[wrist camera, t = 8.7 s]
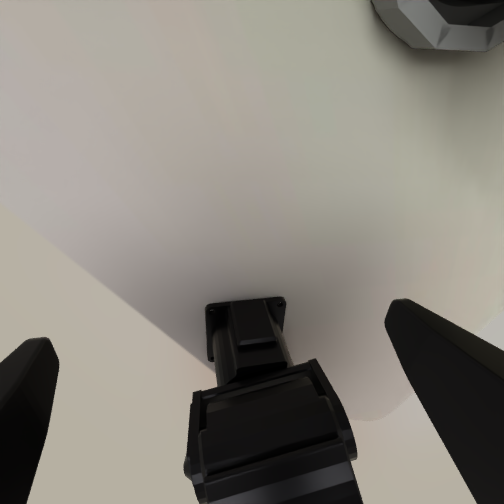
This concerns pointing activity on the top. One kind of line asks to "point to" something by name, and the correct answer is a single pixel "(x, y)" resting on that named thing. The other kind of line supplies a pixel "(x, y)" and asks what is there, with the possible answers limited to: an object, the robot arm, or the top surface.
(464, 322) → the top surface
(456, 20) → the ring seat
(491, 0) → the supplement bottle
